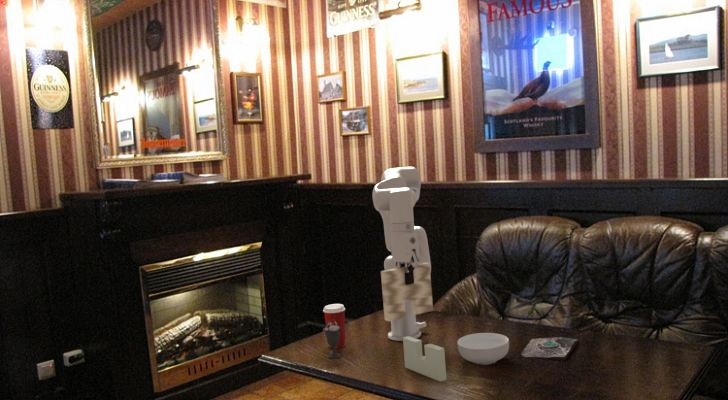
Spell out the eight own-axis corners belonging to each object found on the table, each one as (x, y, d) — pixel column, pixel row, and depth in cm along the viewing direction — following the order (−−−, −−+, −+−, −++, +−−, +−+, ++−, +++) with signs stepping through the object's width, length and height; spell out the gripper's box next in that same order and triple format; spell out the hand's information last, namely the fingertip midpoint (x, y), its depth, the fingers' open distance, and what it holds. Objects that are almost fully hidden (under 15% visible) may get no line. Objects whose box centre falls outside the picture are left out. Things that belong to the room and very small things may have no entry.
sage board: (410, 365, 218) (408, 336, 217) (446, 379, 203) (444, 348, 202) (405, 367, 216) (402, 337, 215) (440, 381, 201) (438, 350, 200)
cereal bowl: (478, 349, 229) (477, 329, 228) (520, 358, 217) (518, 337, 216) (448, 363, 217) (446, 342, 216) (490, 373, 205) (489, 351, 204)
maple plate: (428, 309, 221) (425, 262, 220) (433, 310, 219) (429, 263, 218) (384, 320, 211) (380, 271, 210) (388, 321, 209) (384, 271, 208)
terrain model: (535, 340, 236) (535, 331, 235) (578, 344, 228) (578, 335, 228) (518, 358, 218) (518, 348, 218) (564, 363, 211) (564, 353, 210)
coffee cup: (351, 342, 248) (348, 303, 246) (343, 349, 240) (340, 309, 238) (330, 341, 250) (327, 303, 249) (322, 348, 243) (319, 309, 241)
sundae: (341, 359, 229) (338, 317, 228) (323, 359, 230) (319, 317, 229) (346, 353, 235) (342, 312, 234) (328, 353, 237) (324, 312, 235)
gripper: (427, 227, 209) (431, 284, 210) (397, 225, 222) (401, 278, 223) (408, 230, 205) (412, 288, 206) (379, 227, 218) (383, 282, 219)
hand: (406, 283), depth 214 cm, fingers closed on maple plate, 2 cm apart
